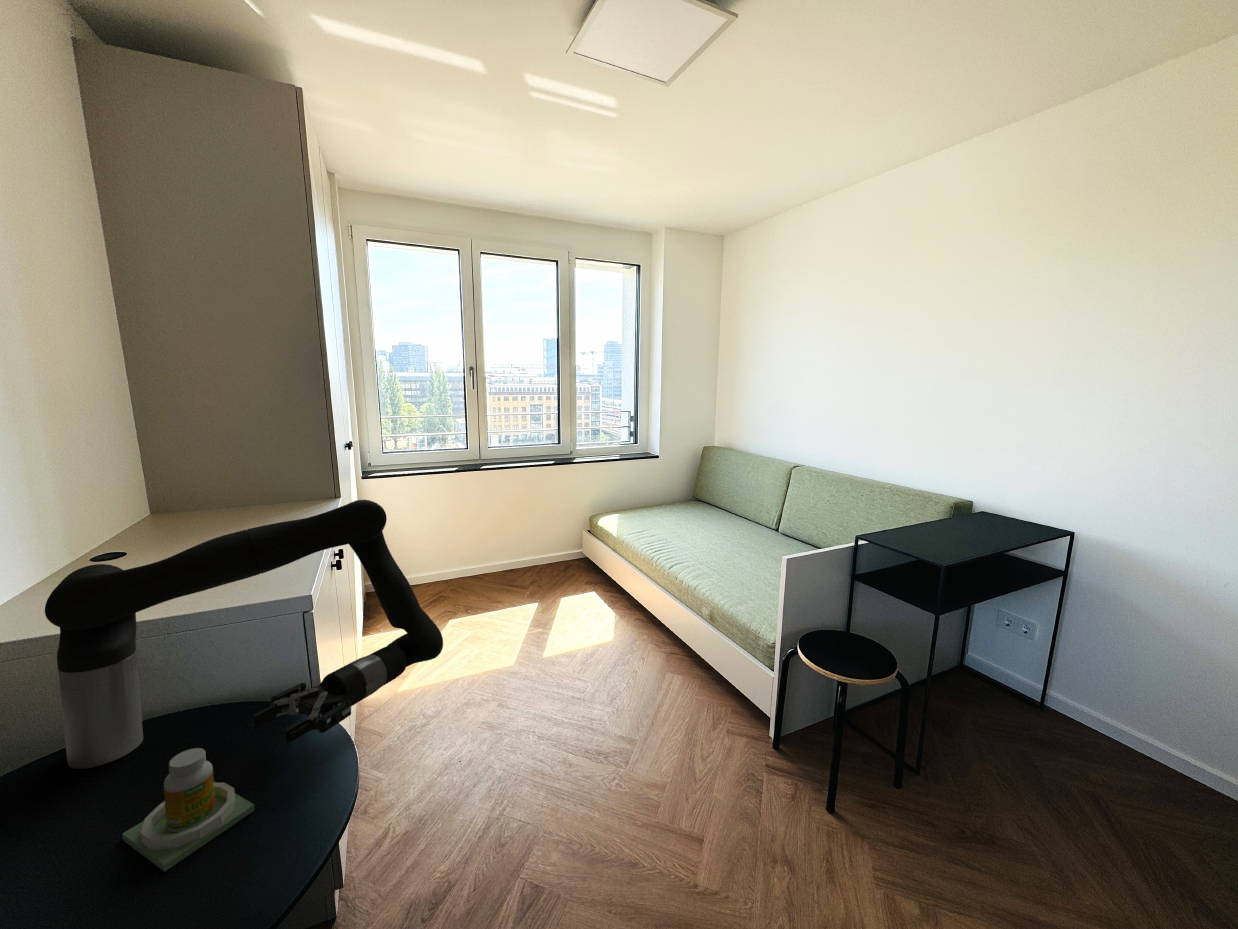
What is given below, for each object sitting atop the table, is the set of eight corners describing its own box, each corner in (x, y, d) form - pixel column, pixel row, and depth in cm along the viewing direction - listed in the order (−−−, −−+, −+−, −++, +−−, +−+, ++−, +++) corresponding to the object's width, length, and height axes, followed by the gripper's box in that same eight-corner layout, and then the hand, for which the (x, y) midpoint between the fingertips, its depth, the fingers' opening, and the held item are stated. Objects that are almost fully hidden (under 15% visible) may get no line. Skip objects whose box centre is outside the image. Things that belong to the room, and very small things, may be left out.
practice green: (122, 840, 68) (121, 824, 68) (213, 786, 78) (212, 771, 78) (164, 872, 64) (163, 855, 64) (254, 810, 74) (253, 795, 74)
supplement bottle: (186, 837, 68) (182, 774, 67) (156, 829, 69) (151, 767, 68) (224, 806, 73) (221, 747, 72) (196, 800, 74) (192, 741, 73)
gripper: (330, 655, 97) (240, 698, 83) (380, 672, 92) (294, 722, 77) (331, 690, 98) (243, 738, 84) (381, 709, 93) (296, 765, 78)
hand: (267, 730), depth 80 cm, fingers open, 8 cm apart
